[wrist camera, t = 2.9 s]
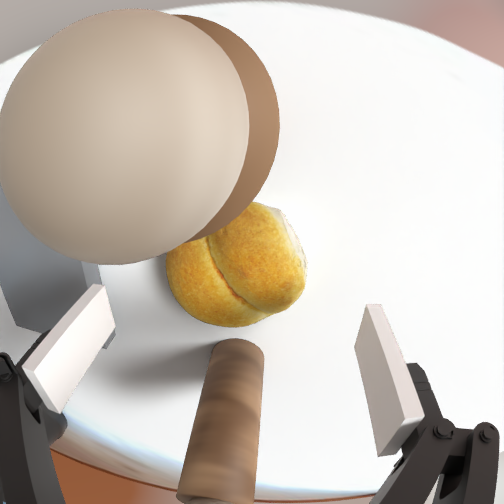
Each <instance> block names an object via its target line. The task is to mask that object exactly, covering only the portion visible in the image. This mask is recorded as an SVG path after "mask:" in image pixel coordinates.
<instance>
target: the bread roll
mask: <svg viewBox="0 0 504 504" xmlns="http://www.w3.org/2000/svg"><path fill="white" fill-rule="evenodd" d="M307 264H308V262H307V259H306V256H305V254H304V251H303V249H302V246H301V244H300V241H299V239H298V237H297V235H296V234H295V232H294V230H293V228H292V226H291V225H290V224H289V223H288V220H287V219H286V216H285V215H284V213H283V212H282V211H281V210H279V209H276V208H272V207H268V206H265V205H263V204H260V203H257V202H251V203H250V205H249V206H248V207H247V208H246V209H245V210H244V211H243V212H242V213H241V214H240V215H239V216H238V217H236V218H235V219H234V220H233V221H231V222H230V223H229V224H228V225H226V226H225V227H223V228H221V229H220V230H218V231H216V232H215V233H213V234H210V235H208V236H206V237H203V238H201V239H198V240H194V241H191V242H188V243H182V244H181V245H179V246H178V247H176V248H174V249H173V250H171V251H169V252H167V256H166V273H167V278H168V282H169V286H170V288H171V291H172V293H173V295H174V297H175V299H176V300H177V301H178V303H179V304H180V305H181V306H182V307H183V308H184V310H185V311H186V312H188V313H189V314H190V315H191V316H193V317H195V318H196V319H198V320H200V321H202V322H205V323H209V324H212V325H217V326H223V327H243V326H248V325H250V324H253V323H256V322H258V321H260V320H262V319H264V318H266V317H268V316H270V315H273V314H275V313H279V312H281V311H284V310H286V309H288V308H289V307H290V306H291V305H292V304H293V303H294V302H295V301H296V300H297V299H298V298H299V297H300V295H301V294H302V292H303V290H304V287H305V283H306V278H307Z"/></svg>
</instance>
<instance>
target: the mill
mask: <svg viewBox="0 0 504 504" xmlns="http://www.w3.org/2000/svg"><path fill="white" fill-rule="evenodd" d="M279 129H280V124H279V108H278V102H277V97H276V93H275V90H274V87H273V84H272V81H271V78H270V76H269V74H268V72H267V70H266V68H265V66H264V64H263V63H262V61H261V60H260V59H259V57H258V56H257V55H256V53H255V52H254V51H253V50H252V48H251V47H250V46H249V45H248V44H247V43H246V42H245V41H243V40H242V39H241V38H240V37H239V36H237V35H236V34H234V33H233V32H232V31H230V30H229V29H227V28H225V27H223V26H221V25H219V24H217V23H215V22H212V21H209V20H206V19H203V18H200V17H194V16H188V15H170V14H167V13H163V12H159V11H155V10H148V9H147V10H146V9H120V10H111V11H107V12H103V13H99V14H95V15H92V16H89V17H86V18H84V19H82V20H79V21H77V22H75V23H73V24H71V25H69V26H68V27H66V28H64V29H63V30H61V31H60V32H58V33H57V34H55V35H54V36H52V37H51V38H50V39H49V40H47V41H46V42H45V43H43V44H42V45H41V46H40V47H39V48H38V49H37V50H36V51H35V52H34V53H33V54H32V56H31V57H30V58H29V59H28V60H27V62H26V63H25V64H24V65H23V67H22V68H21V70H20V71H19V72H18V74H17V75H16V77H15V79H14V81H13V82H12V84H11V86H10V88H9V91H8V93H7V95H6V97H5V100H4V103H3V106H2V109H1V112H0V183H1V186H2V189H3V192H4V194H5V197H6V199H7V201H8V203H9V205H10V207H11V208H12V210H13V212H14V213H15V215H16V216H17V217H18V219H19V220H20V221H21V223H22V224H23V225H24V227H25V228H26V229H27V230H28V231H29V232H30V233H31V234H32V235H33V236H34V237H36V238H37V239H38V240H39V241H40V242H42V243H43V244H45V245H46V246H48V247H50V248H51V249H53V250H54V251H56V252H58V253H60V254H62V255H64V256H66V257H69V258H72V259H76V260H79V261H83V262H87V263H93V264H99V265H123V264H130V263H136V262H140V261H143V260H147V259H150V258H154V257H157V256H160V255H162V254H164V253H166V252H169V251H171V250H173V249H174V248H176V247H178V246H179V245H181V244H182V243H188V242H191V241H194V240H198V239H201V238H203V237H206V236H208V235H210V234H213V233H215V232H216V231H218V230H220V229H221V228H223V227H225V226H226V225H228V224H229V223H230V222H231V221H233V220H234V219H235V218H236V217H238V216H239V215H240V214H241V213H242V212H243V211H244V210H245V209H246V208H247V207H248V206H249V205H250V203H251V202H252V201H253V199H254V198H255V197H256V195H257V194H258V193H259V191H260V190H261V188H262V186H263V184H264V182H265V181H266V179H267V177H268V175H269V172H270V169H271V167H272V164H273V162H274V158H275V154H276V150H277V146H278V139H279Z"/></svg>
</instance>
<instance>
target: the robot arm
mask: <svg viewBox="0 0 504 504" xmlns="http://www.w3.org/2000/svg"><path fill="white" fill-rule="evenodd" d="M115 327H116V326H115V322H114V319H113V315H112V311H111V308H110V304H109V300H108V296H107V292H106V288H105V285H99V284H93V285H92V286H91V287H90V288H89V289H88V290H87V291H86V292H85V293H84V294H83V295H82V296H81V298H80V299H79V300H78V301H77V302H76V303H75V304H74V305H73V306H72V307H71V309H70V310H69V311H68V312H67V313H66V314H65V315H64V316H63V317H62V319H61V320H60V321H59V322H58V323H57V324H56V325H55V327H54V328H53V329H52V330H51V329H49V330H47V331H46V332H44V333H43V334H41V336H40V337H39V338H38V339H37V340H36V341H35V343H34V344H33V345H32V346H31V348H30V349H29V350H28V351H27V352H26V353H25V355H24V356H23V357H22V358H21V359H20V361H19V362H18V363H17V364H16V366H15V365H14V364H13V362H12V360H11V358H10V356H9V355H8V354H7V353H4V352H1V353H0V504H66V503H65V500H64V497H63V494H62V491H61V488H60V485H59V482H58V478H57V475H56V471H55V468H54V464H53V460H52V456H51V452H50V448H49V446H50V445H51V444H53V443H54V442H55V441H56V440H57V439H59V438H60V437H61V436H62V435H63V433H64V431H65V429H66V428H67V421H66V419H65V417H64V415H63V414H62V410H63V409H64V407H65V405H66V403H67V402H68V400H69V398H70V397H71V395H72V394H73V392H74V390H75V389H76V387H77V385H78V384H79V382H80V381H81V379H82V377H83V376H84V374H85V373H86V371H87V369H88V368H89V366H90V365H91V363H92V362H93V360H94V359H95V357H96V355H97V354H98V352H99V351H100V349H101V348H102V346H103V345H104V343H105V342H106V340H107V339H108V337H109V336H110V334H111V333H112V331H113V330H114V328H115ZM354 348H355V352H356V356H357V360H358V364H359V368H360V372H361V377H362V381H363V385H364V390H365V394H366V399H367V403H368V408H369V413H370V418H371V423H372V428H373V433H374V438H375V444H376V449H377V455H378V457H380V456H387V455H394V454H396V453H397V452H398V451H399V449H400V448H401V449H402V453H403V456H402V457H401V458H400V459H399V460H398V461H397V463H396V464H395V465H394V469H393V470H392V472H391V473H390V475H389V476H388V478H387V479H386V481H385V482H384V484H383V485H382V486H381V488H380V489H379V491H378V492H377V493H376V495H375V496H374V497H373V499H372V500H371V501H370V503H369V504H424V503H425V501H426V499H427V497H428V496H429V494H430V492H431V490H432V488H433V486H434V484H435V483H436V481H437V479H438V477H439V481H438V484H437V488H436V492H435V496H434V499H433V503H432V504H494V497H495V490H496V482H497V472H498V459H499V432H498V430H497V428H496V427H495V426H494V425H493V424H491V423H488V422H482V423H480V424H478V425H477V426H476V427H475V428H474V430H472V429H461V428H456V427H455V426H454V424H453V423H452V422H451V421H449V420H448V419H445V418H443V416H442V414H441V411H440V409H439V406H438V403H437V401H436V398H435V396H434V393H433V391H432V390H431V386H430V383H429V382H428V378H427V376H426V374H425V371H424V370H423V369H422V368H421V367H420V366H419V365H418V364H417V363H409V364H406V363H405V360H404V358H403V355H402V353H401V350H400V348H399V345H398V343H397V341H396V338H395V336H394V333H393V331H392V329H391V326H390V324H389V322H388V319H387V317H386V315H385V313H384V310H383V308H382V306H381V304H366V307H365V311H364V314H363V318H362V322H361V325H360V329H359V332H358V336H357V339H356V343H355V346H354ZM439 475H440V476H439Z"/></svg>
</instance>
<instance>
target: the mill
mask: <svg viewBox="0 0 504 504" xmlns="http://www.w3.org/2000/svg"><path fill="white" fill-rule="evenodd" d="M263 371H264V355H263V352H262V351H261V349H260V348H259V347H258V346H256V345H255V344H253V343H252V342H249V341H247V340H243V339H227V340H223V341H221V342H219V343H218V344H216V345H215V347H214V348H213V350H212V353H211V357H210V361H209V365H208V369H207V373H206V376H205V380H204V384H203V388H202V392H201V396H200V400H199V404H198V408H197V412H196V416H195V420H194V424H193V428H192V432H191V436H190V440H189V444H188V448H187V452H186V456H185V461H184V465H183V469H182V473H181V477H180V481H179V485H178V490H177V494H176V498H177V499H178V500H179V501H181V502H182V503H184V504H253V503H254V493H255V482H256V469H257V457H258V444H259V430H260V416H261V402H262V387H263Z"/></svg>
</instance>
